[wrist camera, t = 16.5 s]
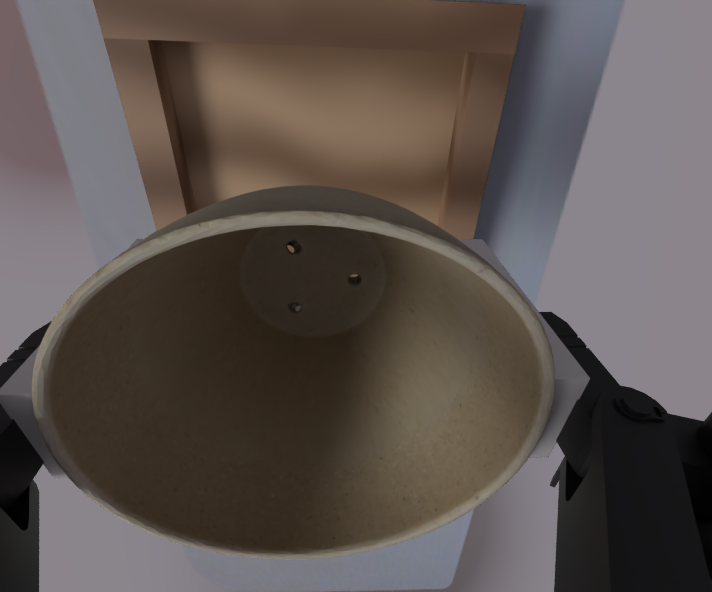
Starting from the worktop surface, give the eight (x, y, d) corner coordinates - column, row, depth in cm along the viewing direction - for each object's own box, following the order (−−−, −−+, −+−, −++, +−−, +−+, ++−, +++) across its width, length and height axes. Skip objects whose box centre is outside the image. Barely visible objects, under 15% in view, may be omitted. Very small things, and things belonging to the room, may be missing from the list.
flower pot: (453, 352, 16) (527, 530, 11) (223, 387, 17) (168, 582, 11) (456, 92, 11) (618, 159, 5) (109, 148, 11) (-139, 279, 5)
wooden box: (111, -12, 19) (88, -17, 17) (507, 7, 20) (525, 4, 18) (217, 409, 36) (211, 429, 34) (427, 403, 38) (432, 421, 36)
